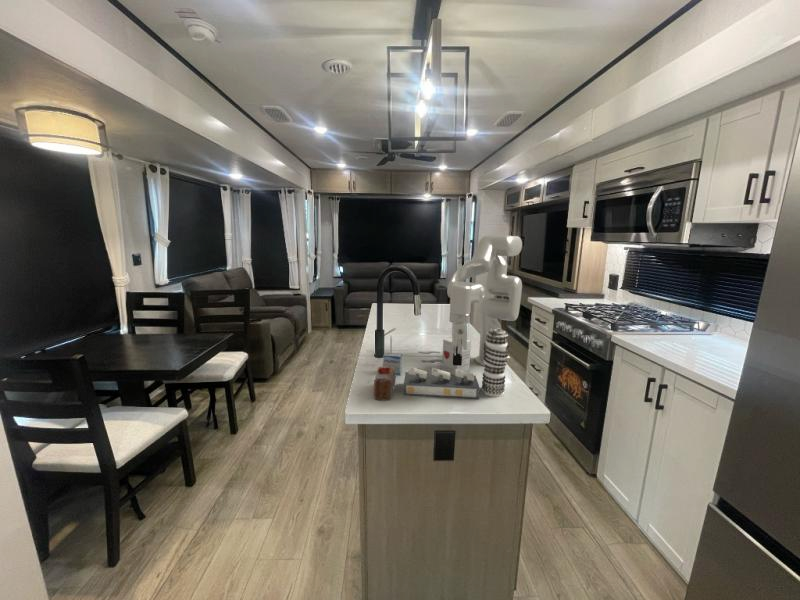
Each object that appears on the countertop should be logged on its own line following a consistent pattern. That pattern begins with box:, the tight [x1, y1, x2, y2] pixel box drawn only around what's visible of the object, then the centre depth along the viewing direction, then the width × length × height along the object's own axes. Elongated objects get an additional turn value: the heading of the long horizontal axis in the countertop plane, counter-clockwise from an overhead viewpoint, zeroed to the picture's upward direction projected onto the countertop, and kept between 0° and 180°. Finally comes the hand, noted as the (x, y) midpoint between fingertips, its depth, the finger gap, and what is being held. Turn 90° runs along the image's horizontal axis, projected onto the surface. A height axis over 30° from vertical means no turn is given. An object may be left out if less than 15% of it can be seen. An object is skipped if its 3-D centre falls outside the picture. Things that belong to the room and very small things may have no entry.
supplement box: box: [441, 336, 472, 374], centre depth 142 cm, size 9×9×15 cm
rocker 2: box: [431, 367, 450, 380], centre depth 123 cm, size 7×4×2 cm, turn 85°
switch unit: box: [403, 371, 480, 400], centre depth 124 cm, size 28×10×8 cm, turn 85°
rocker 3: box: [455, 369, 475, 381], centre depth 123 cm, size 7×4×2 cm, turn 85°
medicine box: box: [382, 352, 403, 376], centre depth 140 cm, size 8×4×9 cm, turn 82°
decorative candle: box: [481, 328, 510, 398], centre depth 123 cm, size 9×9×25 cm
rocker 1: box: [407, 366, 428, 379], centre depth 124 cm, size 7×4×2 cm, turn 85°
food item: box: [373, 365, 397, 401], centre depth 122 cm, size 14×8×10 cm, turn 179°
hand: (457, 364), depth 122 cm, fingers closed
